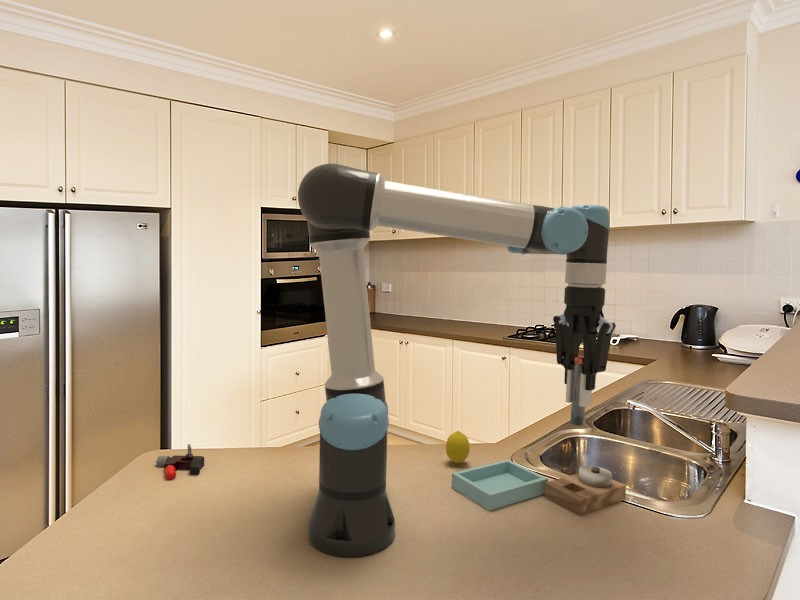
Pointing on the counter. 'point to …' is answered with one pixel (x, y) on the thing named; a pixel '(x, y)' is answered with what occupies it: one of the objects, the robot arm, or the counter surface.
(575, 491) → the block
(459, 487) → the tray
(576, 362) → the pin
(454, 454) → the lemon
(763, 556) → the counter surface
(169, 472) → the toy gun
